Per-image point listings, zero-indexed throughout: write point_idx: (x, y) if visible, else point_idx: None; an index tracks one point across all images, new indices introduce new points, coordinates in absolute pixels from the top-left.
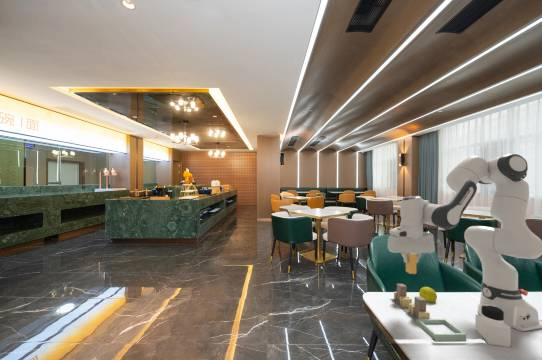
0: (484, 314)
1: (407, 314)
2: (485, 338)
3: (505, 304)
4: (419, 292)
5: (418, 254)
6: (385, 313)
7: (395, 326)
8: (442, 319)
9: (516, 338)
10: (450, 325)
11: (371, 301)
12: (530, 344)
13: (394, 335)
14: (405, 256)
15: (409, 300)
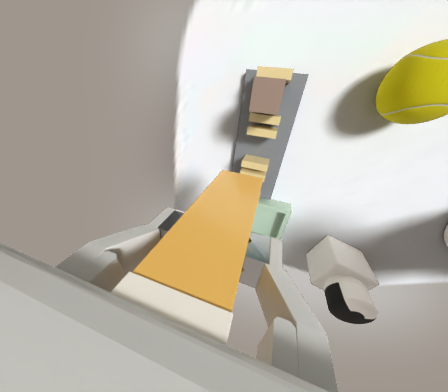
0: (327, 290)
1: (233, 164)
2: (309, 256)
3: None
4: (401, 61)
5: (258, 355)
6: (195, 139)
7: (190, 182)
8: (282, 211)
9: (390, 266)
10: (281, 224)
11: (188, 66)
12: (388, 279)
13: (176, 199)
14: (130, 269)
15: (267, 136)
